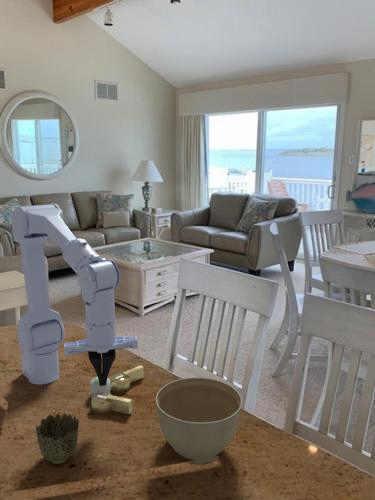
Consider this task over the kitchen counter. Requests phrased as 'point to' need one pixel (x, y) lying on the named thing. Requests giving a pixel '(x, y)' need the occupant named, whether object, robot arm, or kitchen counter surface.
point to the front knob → (110, 404)
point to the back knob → (126, 379)
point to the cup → (58, 437)
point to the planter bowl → (198, 417)
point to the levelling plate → (99, 387)
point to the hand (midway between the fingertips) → (102, 383)
